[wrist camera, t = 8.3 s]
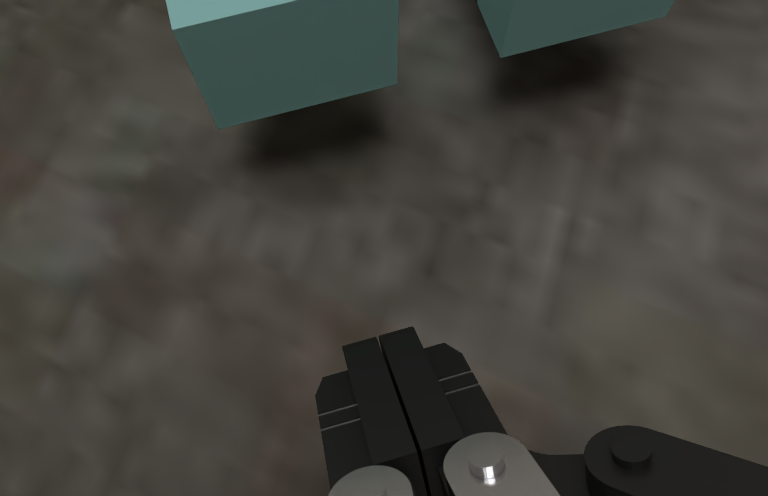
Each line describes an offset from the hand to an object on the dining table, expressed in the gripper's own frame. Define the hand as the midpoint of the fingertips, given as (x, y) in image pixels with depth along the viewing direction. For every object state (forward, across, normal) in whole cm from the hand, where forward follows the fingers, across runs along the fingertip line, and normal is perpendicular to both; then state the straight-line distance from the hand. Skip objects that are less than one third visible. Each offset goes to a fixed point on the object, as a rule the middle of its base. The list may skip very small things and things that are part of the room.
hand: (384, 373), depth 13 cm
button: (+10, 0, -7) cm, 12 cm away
